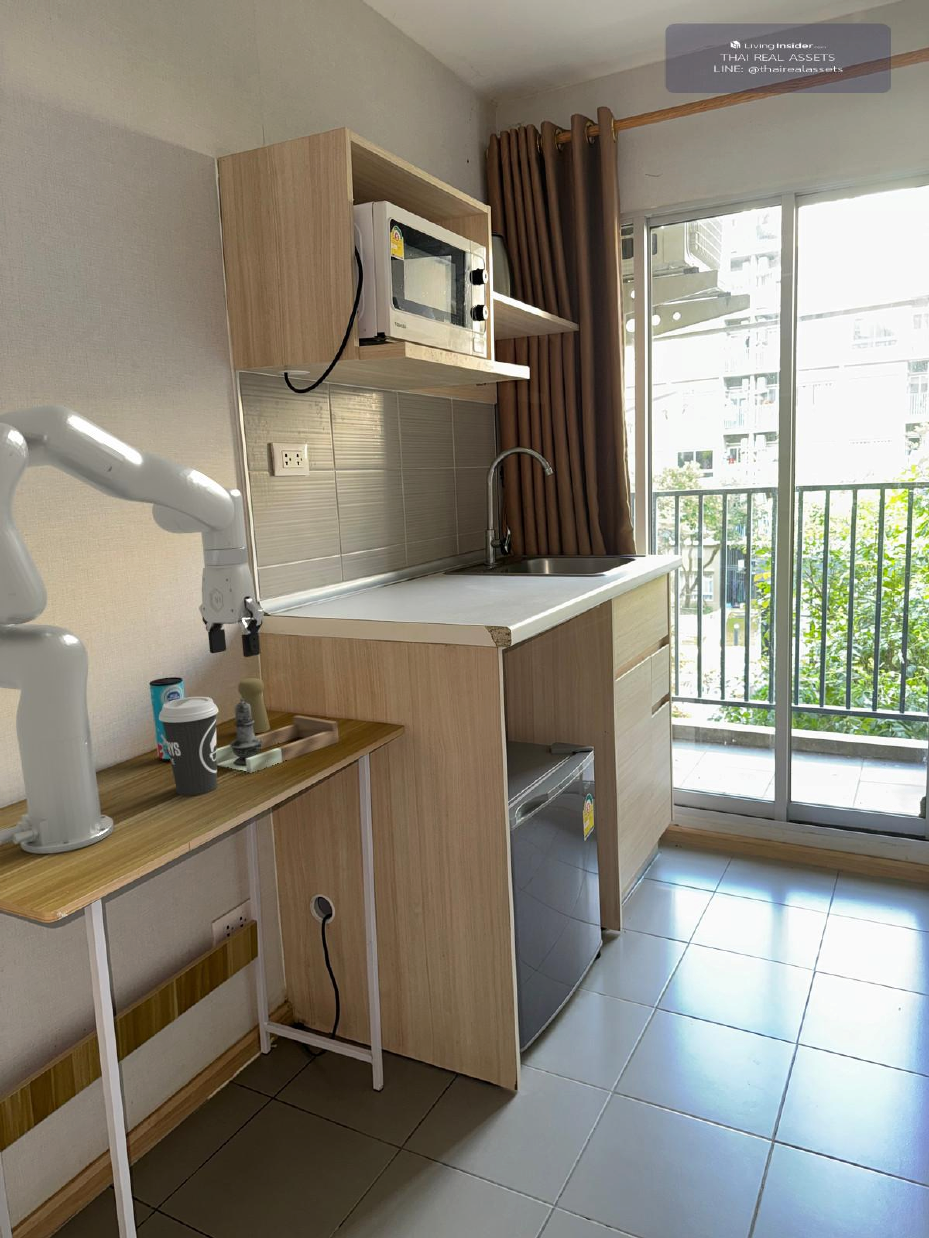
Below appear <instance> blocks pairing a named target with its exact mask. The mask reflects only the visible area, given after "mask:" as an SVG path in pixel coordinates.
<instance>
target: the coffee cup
mask: <svg viewBox="0 0 929 1238" xmlns="http://www.w3.org/2000/svg"><path fill="white" fill-rule="evenodd" d="M219 711H220V710H219V708H218V706H217V704H215V703H214V700H213V699H212V698H211V697H208V696H190V697H189V696H188V697H185V698H181V699H176V700H172V701H169V702H167V703H165V704H163V707H162V711H161V712H160V715H159V720H160V721H162V723H163V727H164V732H165V736H166V741H167V746H168V751H169V755H170V760H171V761H170V765H171V769H172V774H173V779H174V784H175V788H176V793H177V794H178V795H180V796H187V797H188V796H189V797H191V796H198V795H204V794H208V793H211V792H212V790H213V791H214V790H216V789H217V788H216V787H218V767H217V766H218V765H217V751H216V749H217V714H218V713H219ZM215 788H216V789H215Z"/></svg>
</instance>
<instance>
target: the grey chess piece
mask: <svg viewBox="0 0 929 1238" xmlns="http://www.w3.org/2000/svg"><path fill="white" fill-rule="evenodd" d="M243 700H244V699H243V698H242V697H241V698H240V700H239V701H240V702H239V703H237V704H236V705H235V706H234V713H235V720H236V721H235V722H234V723H233V725H235V726H236V737H235V740H234V741H232V742H230V744H229V745H230V747H232V751H233V753H234V754H235V755H236V756H238V757H240V758H238V759H236V760H235V761H234V762H233V763H234V765H236V766H246V758H249V757H252V756H255V755H258V754H260V753H259V752H260V751H261V750H262V749H261V743H262V742H263V740H262V739H259V738H256V737H255V736H256V734H254V731H253V723H254V720H252V716H251V706H250V705H249V704H248V703H245V702H243ZM260 749H261V750H260Z"/></svg>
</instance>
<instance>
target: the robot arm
mask: <svg viewBox="0 0 929 1238" xmlns="http://www.w3.org/2000/svg"><path fill="white" fill-rule="evenodd" d="M42 466H43V467H44V466H51V467H53V468H55V469H58V470H59V471H61V472H63V473H65V474H67V475H69V476H70V477H72V478H74V479H76V480H78V481H80V482H82V483H83V484H86V485H87V486H89V487H91V488H93V489H95V490H96V491H98V492H100V493H101V494H104V495H106V496H108V497H111V498H115V499H119V500H123V501H127V502H128V501H129V502H136V503H145V504H152V507H151V508H152V509H151V512H152V518H153V520H154V523H156V524H157V526H159V527H160V528H161V529H162V530H164V531H165V532H168V533H172V534H194V533H201V541H202V542H201V543H202V553H203V555H202V556H203V564H204V567H203V568H202V575H201V604H200V605H199V606H198V607H199V608H198V609H199V612H200V614H201V617H202V622H203V624H204V625H205V630H206V632H207V634H208V635H207V636H208V646H209V653H210V654H216V653H221V652H226V651H227V644H226V643H227V642H226V640H227V639H226V633H225V631H226V630H225V628H223V627H224V625H234V624H238V625H239V627H240V628H241V630H242V632H243V634H241V643H242V653H243V657H244V658H248V657H249V658H250V657H255V656H259V655H260V653H261V649H260V647H261V646H260V637H259V633H260V632H261V627H262V625H263V624H264V623H263V620H264V619H263V618H264V615H265V609H264V607H262V606H261V605H259V603H257V601H256V595H255V594H256V593H255V588H254V582H253V578H252V574H251V573H252V572H251V570H250V566H249V559H248V557H249V556H248V547H247V537H246V524H245V516H244V515H245V514H244V502H243V495H242V493H241V491H240V490H239V489H237V488H233V487H232V488H231V487H227V488H223V486H221V485H220V484H218V483H217V482H215V481H214V480H212V479H211V478H209V477H208V476H206V475H204V474H203V473H201V472H200V471H198V470H196V469H194V468H191V467H189V466H187V465H185V464H182V463H180V462H176V461H172V460H170V459H167V458H164V457H162V456H160V455H156V454H153V453H150V452H147V451H143V450H141V449H138V448H136V447H134V446H133V445H130V444H128V443H127V442H126V441H124V440H122V439H121V438H119V437H117V436H115V435H114V434H112V433H111V432H109V431H108V430H106V429H104V428H102V427H101V426H99V425H98V424H96V423H95V422H93V421H91V420H90V419H88V418H86V417H85V416H83V415H82V414H80V413H79V412H77V411H76V410H73V409H71V408H69V407H67V406H64V405H60V404H42V405H37V406H32V407H23V408H19V409H14V410H11V411H7V412H4V413H0V688H1V689H7V690H9V689H10V690H19V691H20V695H19V700H18V705H17V710H16V714H15V725H16V726H15V727H16V737H17V741H18V743H17V744H18V749H19V750H18V751H19V756H20V765H21V770H22V777H23V785H24V792H25V798H26V807H27V813H25V814H22V815H21V821H19V822H17V823H16V825H15V826H12V827H10V828H9V827H7V828H4V829H1V830H0V845H4V844H7V843H10V842H13V843H14V844H15V845H17V844H20V848H21V849H22V850H23V851H25V852H26V853H27V852H28V853H31V854H42V855H43V854H45V855H46V854H57V853H64V852H69V851H73V850H78V849H81V848H84V847H88V846H90V845H94V844H95V843H97V842H100V841H102V840H104V839H105V838H107V837H108V836H109V835H111V834H112V832H113V831H114V828H115V826H114V820H113V818H112V817H110V816H108V815H104V814H102V812H101V811H102V810H101V803H100V797H99V796H100V794H99V787H98V781H97V774H96V772H97V771H96V765H95V757H94V749H93V742H92V734H91V727H90V720H89V719H90V718H89V712H88V711H89V710H88V709H89V708H88V696H87V695H88V694H87V691H88V690H87V689H88V687H87V686H88V676H89V655H88V651H87V648H86V645H85V644H84V642H83V641H82V639H81V637H79V636H78V635H77V634H76V633H74V632H73V631H71V630H70V629H67V628H64V627H61V626H58V625H50V624H48V625H47V624H26V623H29V622H31V621H34V620H36V619H37V618H38V617H40V616H41V615H42V614H43V612H44V611H45V610H46V608H47V603H48V591H47V588H46V585H45V582H44V580H43V578H42V575H41V573H40V571H39V569H38V567H37V566H36V563H35V561H34V559H33V557H32V554H31V553H30V550H29V548H28V547H27V545H26V543H25V541H24V539H23V536H22V535H21V532H20V529H19V526H18V524H17V522H16V519H15V514H14V498H15V493H16V491H17V489H18V486H19V483H20V482H21V479H22V478H23V476H24V474H25V472H26V470H27V468H32V467H42Z"/></svg>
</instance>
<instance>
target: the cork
mask: <svg viewBox="0 0 929 1238" xmlns="http://www.w3.org/2000/svg"><path fill="white" fill-rule="evenodd" d="M237 688H238V692H239V695H240V696H241V698H243V699H244V700H243V702H245V703H248V704H249V705H250V706H251V716H252V720H254V723H253V731H254V735H256V734H255V733H260V732H264V733H267V732H268V730H269V729H270V730H271V726H270V722H269V719H268V713H267V710H266V705H265V701H264V697H263V696H264V695H263V692H264V689H265V684H264V682H263V680H262V679H260V678H256V677H255V678H253V677H251V678H246V679H245V678H244V679H242V680H240V681H239V683H238V686H237ZM270 730H269V731H270ZM266 731H267V732H266ZM260 734H261V733H260Z"/></svg>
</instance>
